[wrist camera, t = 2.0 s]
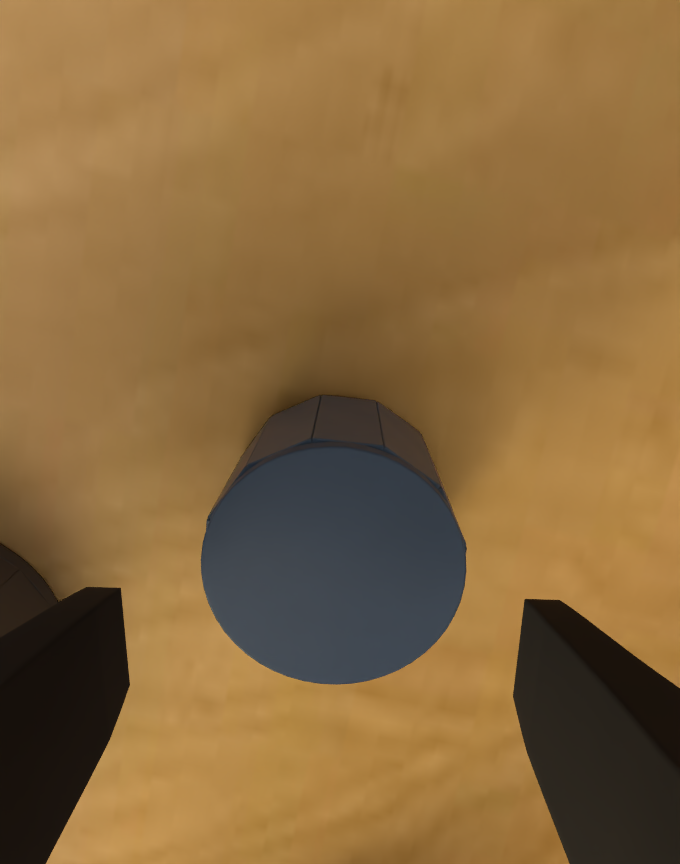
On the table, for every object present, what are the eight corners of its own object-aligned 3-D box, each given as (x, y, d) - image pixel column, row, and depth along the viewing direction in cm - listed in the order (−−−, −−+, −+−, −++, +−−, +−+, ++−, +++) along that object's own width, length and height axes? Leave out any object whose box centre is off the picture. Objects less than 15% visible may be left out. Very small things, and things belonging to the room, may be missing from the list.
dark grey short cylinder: (478, 474, 17) (522, 548, 13) (358, 615, 19) (360, 726, 14) (314, 355, 16) (301, 390, 12) (201, 512, 18) (151, 597, 13)
